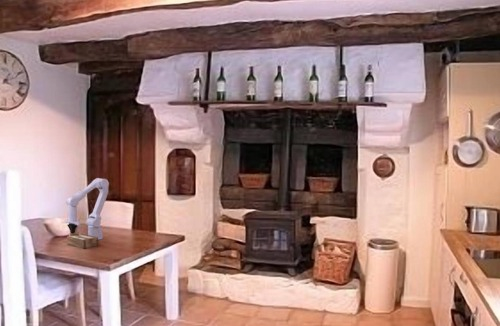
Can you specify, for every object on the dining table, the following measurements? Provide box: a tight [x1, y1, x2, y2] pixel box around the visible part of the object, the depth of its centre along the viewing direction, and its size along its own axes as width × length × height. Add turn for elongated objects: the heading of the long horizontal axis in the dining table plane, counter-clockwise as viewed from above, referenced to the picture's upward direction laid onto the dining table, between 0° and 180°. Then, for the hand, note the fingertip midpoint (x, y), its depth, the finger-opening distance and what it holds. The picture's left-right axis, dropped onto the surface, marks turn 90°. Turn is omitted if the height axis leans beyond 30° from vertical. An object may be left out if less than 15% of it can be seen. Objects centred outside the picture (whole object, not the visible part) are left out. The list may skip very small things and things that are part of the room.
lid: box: [66, 232, 94, 240], centre depth 321 cm, size 9×16×2 cm, turn 55°
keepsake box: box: [67, 233, 99, 250], centre depth 320 cm, size 11×18×6 cm, turn 55°
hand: (72, 234), depth 326 cm, fingers closed
